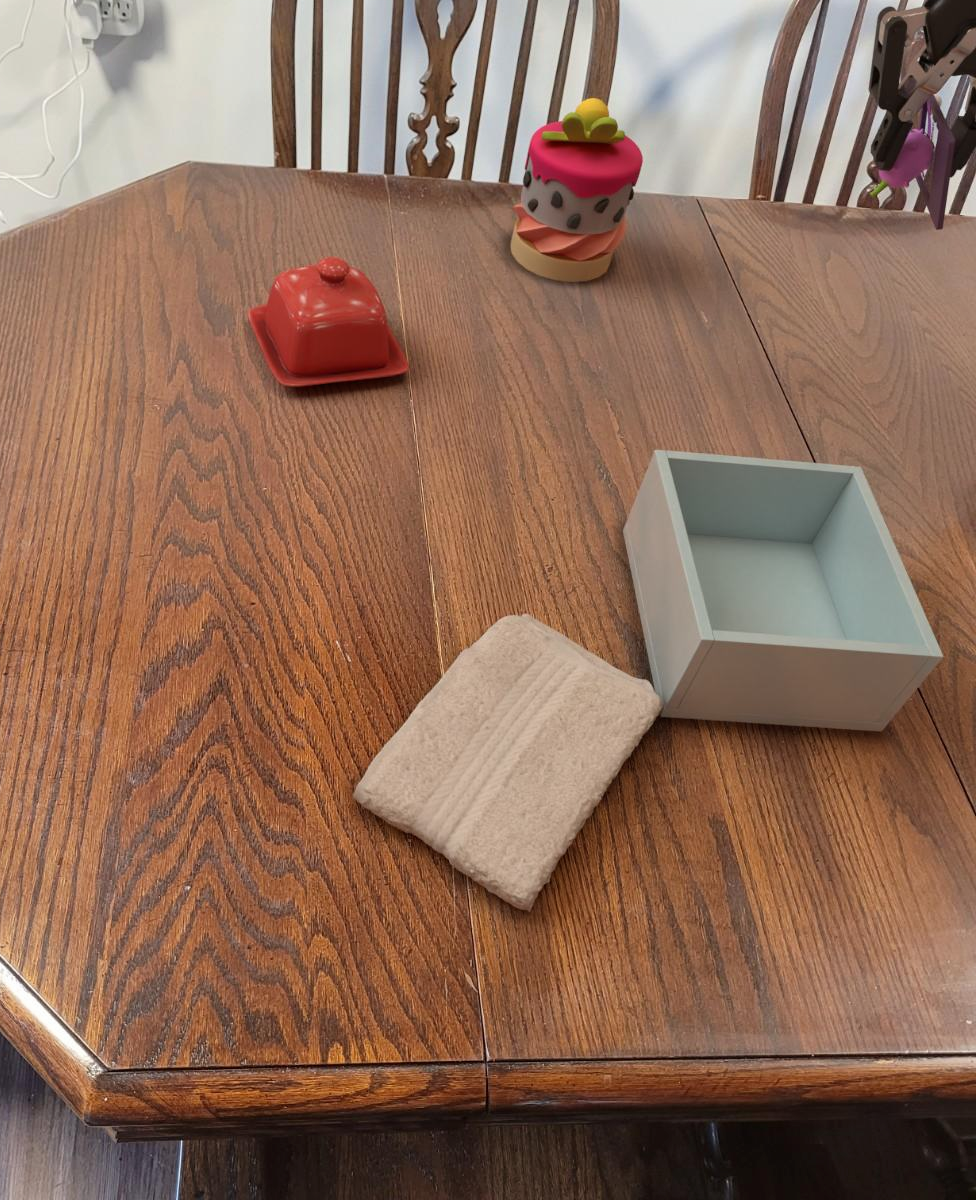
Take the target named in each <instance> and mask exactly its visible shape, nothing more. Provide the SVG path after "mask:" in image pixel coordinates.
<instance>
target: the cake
mask: <svg viewBox="0 0 976 1200" xmlns="http://www.w3.org/2000/svg"><path fill="white" fill-rule="evenodd" d="M643 157H644V156H643V154H642V151H641V149H640V147H639V146H638V145H637V144H636V142H635V141H633V140H632V138H630V137H629V136H627V135H626V134H625V131H624V130H622V129H619V124H618V122H617V120H616V119H615V118H613V117H610V111H609V107H608V106H607V104H606V103H605V102H604V101H603V100H601V99H598V98H595V97H590V98H586V99H584V100H583V101H581V102H580V104H578V106H577V107H576V109H575V111H574V112H573V111H571V112H568V113H567V114H565V116H564V117H563V118H562V120H560V121H559V120H558V121H554V122H550V123H548V124H545V125H543V126H540V127H539V128H538V129H537V130H535V132H533V134H532V136H531V138H530V142H529V146H528V149H527V155H526V159H525V164H524V170H525V171H524V175H523V178H522V184H523V185H522V189H521V193H520V202H519V203H518V204H516V205H514V206H512V207H511V209H512V210H513V211H514V212H515V213H516V214H517V217H518V218H517V219H516V220H515V223H514V226H513V231H512V234H511V235H512V236H511V240H510V252H511V254H512V256H513V257H514V260H515V261H516V262H517V263H518V264H520V265H521V266H522V267H523V268H524V269H526V270H527V271H530V272H532V273H534V274H535V275H537V276H539V277H542V278H545V279H549V280H553V281H558V282H567V283H578V282H588V281H592V280H594V279H598V278H600V277H601V276H603V275H604V274H605V273H607V272H608V269H609V267H610V265H611V261H612V258H613V254H614V251H615V250H616V249H617V248H618V247H619V246H620V245H621V242H622V241H623V239H624V237H625V236H626V233H627V218H626V211H627V208H628V206H629V205H630V202H631V201H632V200H633V198H634V196H635V190H634V187H636V185H637V183H638V181H639V178H640V174H641V171H642V166H643V162H644V158H643Z"/></svg>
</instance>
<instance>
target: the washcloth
mask: <svg viewBox="0 0 976 1200" xmlns="http://www.w3.org/2000/svg"><path fill="white" fill-rule="evenodd" d="M662 707H663V701H662V699H661V698H660V696H659V695H657V694H656V693H655V688H654V686H653V685H652V684H651V682H650V681H649V680H647V679H642V678H638V677H634V676H632V675H630V674H628V673H627V672H625V671H623V670H621V669H618V668H616V667H615V666H613V665H612V664H610V663H609V662H607V661H606V660H605V659H603V658H601V657H600V656H597V654H594V653H593V652H591V651H590V650H587V649H586V648H585V647H583V646H582V645H580V644H579V643H576V642H575V641H574V640H571V639H570V638H569V637H567V636H566V635H565V634H563V633H561V632H559V631H558V630H556V629H554V628H552V627H550V626H549V625H548V624H547V625H546V624H545V623H543V622H541V621H539V620H538V619H537V618H535V617H533V616H532V615H531V614H529V613H523V614H522V615H521V616H520V615H516V614H508V615H505V616H503V617H501V618H500V619H498V620H497V621H496V622H495V623H493V625H491V626H489V628H488V629H487V630H486V631H485V632H484V634H483V635H482V636H480V638H479V639H478V640H476V641H475V642H473V644H471V646H469V647H466V648H464V649H463V650H462V651H461V652H460V653H459V655H458V656H457V658H455V660H454V662H453V663H452V664H451V665H450V667H449V668H448V669H447V670H446V671H445V673H444V674H443V675H442V677H441V678H440V679H439V681H438V682H437V683H436V684H435V685H434V686H433V687H432V689H431V690H429V692H428V693H427V694H426V695H425V696H424V697H423V698H422V700H420V701H419V702H418V703H417V705H416V707H415V709H414V710H413V711H412V712H411V714H410V715H409V717H408V718H407V719H406V720H405V722H404V723H403V724H402V725H401V727H399V729H398V730H397V731H396V732H395V733H394V734H393V736H392V737H391V738H390V739H389V740H388V741H387V742H386V743H385V744H384V746H382V748H381V749H380V751H379V753H377V754H376V755H375V756H374V758H373V760H371V763H370V764H369V765H368V767H367V770H366V771H365V773H364V774H363V776H362V778H361V780H359V782H358V783H357V784H356V787H355V790H354V791H353V794H352V798H353V799H354V800H355V801H357V802H358V803H359V804H360V805H361V806H362V807H363V808H364V809H367V810H368V811H370V812H371V813H372V814H374V815H375V816H377V817H378V818H379V819H382V820H383V821H384V822H386V823H387V824H388V825H391V826H392V827H394V828H397V829H398V830H400V831H402V832H404V833H406V834H411V835H413V836H415V837H417V838H418V839H420V840H422V842H423V843H424V844H426V845H427V846H429V847H431V848H432V850H434V851H435V852H437V853H439V854H441V855H443V857H444V858H446V859H447V860H448V861H449V864H450V866H451V867H452V868H455V869H456V870H457V871H458V872H460V873H462V874H463V875H465V876H467V877H469V878H470V879H471V880H472V881H473V882H476V883H477V884H478V885H479V886H480V887H484V888H485V889H486V890H487V892H488V893H490V894H494V895H495V896H497V897H498V898H499V899H502V900H503V901H504V902H505V903H508V904H510V905H512V906H513V907H515V908H517V909H519V910H522V911H527V912H528V913H530V912H531V910H532V908H533V906H534V902H536V901H535V900H536V899H537V897H538V896H539V892H541V890H543V888H544V886H545V884H548V883H550V881H551V877H552V873H553V872H555V871H556V868H557V865H558V862H559V861H560V859H561V858H562V857H563V856H564V855H565V854H566V852H567V849H568V848H569V847H570V846H571V845H572V844H573V842H574V840H575V839H576V838H577V836H578V833H579V832H580V831H581V830H582V829H583V827H584V825H585V824H586V822H587V820H588V819H590V817H592V814H593V813H594V809H595V807H597V806H599V803H600V802H601V800H602V797H603V796H604V795H605V794H606V792H607V790H608V788H609V787H610V785H611V784H612V781H613V780H614V779H616V778H617V776H618V773H619V772H620V770H621V769H622V766H624V763H625V762H626V761H627V760H628V759H629V758H630V757H631V756H632V752H633V751H634V750H635V748H636V747H639V744H640V742H641V740H642V738H643V736H644V735H645V734H647V733H648V731H649V729H651V727H652V726H653V725H654V722H655V721H656V720H657V719H656V718H657V717H658V716H660V713H659V712H660V711H661V709H662Z"/></svg>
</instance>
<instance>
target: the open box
mask: <svg viewBox="0 0 976 1200" xmlns="http://www.w3.org/2000/svg"><path fill="white" fill-rule="evenodd" d="M622 534H623V538H624V543H625V548H626V552H627V559H628V563H629V568H630V574H631V578H632V583H633V588H634V593H635V598H636V602H637V607H638V613H639V618H640V623H641V629H642V632H643V638H644V642H645V647H646V648H645V649H646V652H647V658H648V663H649V667H650V672H651V673H650V674H651V677H652V682H653V689H654V691H655V693H656V694H657V695H659V696H660V698H661V699H662V701H663V707H662V709H661V711H660V712H659V716H660V717H661V718H672V719H673V718H674V719H687V720H688V719H689V720H701V721H702V720H704V721H718V722H719V721H720V722H731V723H732V722H735V723H748V724H763V725H776V726H777V725H778V726H792V727H809V728H823V729H824V728H825V729H826V728H827V729H838V730H839V729H840V730H852V731H853V730H854V731H868V732H883V730H884V729H885V728H886V727H887V726H888V724H889V723H890V722H891V721H892V720H893V718H894V717H895V716H896V715H897V714H898V713H899V712H900V711H901V709H902V707H904V705H905V704H906V703H907V702H908V700H909V699H910V698H911V697H912V696H913V694H914V693H915V692H916V691H917V690H918V688H919V687H920V686H921V685H922V684H923V682H924V681H925V680H926V679H927V678H928V677H929V675H931V673H932V672H933V670H934V669H935V668H936V667H937V665H938V664H940V662H941V661H942V659H943V658H944V654H943V652H942V650H941V647H940V645H939V643H938V641H937V638H936V636H935V633H934V631H933V628H932V626H931V624H930V622H929V620H928V617H927V615H926V613H925V611H924V608H923V606H922V603H921V601H920V599H919V597H918V594H917V592H916V589H915V587H914V585H913V583H912V580H911V578H910V576H909V574H908V570H907V569H906V566H905V564H904V562H903V560H902V558H901V555H900V553H899V551H898V549H897V546H896V544H895V541H894V539H893V537H892V534H891V533H890V530H889V528H888V525H887V523H886V520H885V518H884V516H883V514H882V512H881V509H880V507H879V505H878V503H877V500H876V498H875V495H874V493H873V491H872V489H871V486H870V484H869V481H868V479H867V477H866V475H865V473H864V470H863V468H862V466H856V465H855V466H854V465H845V464H832V463H821V462H811V461H799V460H798V461H797V460H786V459H785V460H784V459H774V458H762V457H760V458H759V457H753V456H752V457H750V456H741V455H740V456H739V455H728V454H714V453H703V452H691V451H680V450H679V451H678V450H664V449H654V451H653V454H652V456H651V458H650V460H649V463H648V466H647V469H646V472H645V474H644V476H643V479H642V481H641V484H640V487H639V489H638V491H637V494H636V497H635V500H634V501H633V505H632V507H631V509H630V511H629V515H628V517H627V519H626V522H625V524H624V527H623V529H622Z"/></svg>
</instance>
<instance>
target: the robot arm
mask: <svg viewBox="0 0 976 1200" xmlns="http://www.w3.org/2000/svg"><path fill="white" fill-rule="evenodd" d="M921 28H922V30H923V36H924V41H925V43H924V44H923V45H922V46H921V48H920V49H919V51H918V52H917V53H916V55H915V56H914V57H913V59H912V60H911V62H910V63H909V65H908V67H907V72H906V73H905V76H903V77H902V80H901V74H902V67H903V61H904V54H905V48H907V47H910V46H912V43H913V41H914V39H915V36H916V34H917V32H918V31H919V30H920V29H921ZM874 35H875V36H874V42H873V51H872V58H871V64H870V65H871V66H870V73H869V74H870V75H869V81H868V92H869V94H870V95H871V97H872V98H873V100H874V102H875V103H876V104H877V106H878V108H879V109H880V110H883V111H885V113H884V116H883V117H882V121H881V123H880V125H879V127H878V129H877V132H876V134H875V136H874V138H873V140H872V142H871V144H870V155H871V156H872V160H873V163H874V165H875V166H876V168H877V169H878V171H879V170H883V171H890V170H891V169H892V167H893V165H894V163H895V161H896V159H897V157H898V155H899V153H900V151H901V149H902V147H903V145H904V142H905V140H906V138H907V136H908V134H909V132H910V130H912V128H913V126H914V122H913V119H914V118H915V117H916V116H917V114H919V112H920V111H921V108H922V107H923V105H924V104H925V103H926V101H927V100H928V99H929V98H930V96H931V95H932V94H937V93H939V92H940V91H941V90H942V89H943V88H944V86H945V85H946V83H947V82H948V81H949V79H950V78H951V77H958V76H964V75H965V76H966V75H967V76H968V77H969V78H968V79H969V88H968V93H967V97H966V101H965V105H964V106H965V107H964V114H963V115H957V116H956V119H955V120H954V123H953V125H952V126H951V128H950V130H951V132H952V134H953V136H954V138H955V147H954V154H953V161H952V167H951V174H950V179H951V178H953V177H954V176H955V175H956V173H957V171H962V169H963V168H965V166H966V165H967V164H968V163H969V161H970V159H971V156H972V155H973V153H974V151H975V149H976V0H925V2H924V4H923V5H922V6H918V7H914V8H910V9H909V8H908V9H905V10H900V11H898V10H897V9H896V8H895V7H894V6H886V7H884V8H883V9H881V10H880V11H879V13H878V15H877V19H876V27H875V34H874Z"/></svg>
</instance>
